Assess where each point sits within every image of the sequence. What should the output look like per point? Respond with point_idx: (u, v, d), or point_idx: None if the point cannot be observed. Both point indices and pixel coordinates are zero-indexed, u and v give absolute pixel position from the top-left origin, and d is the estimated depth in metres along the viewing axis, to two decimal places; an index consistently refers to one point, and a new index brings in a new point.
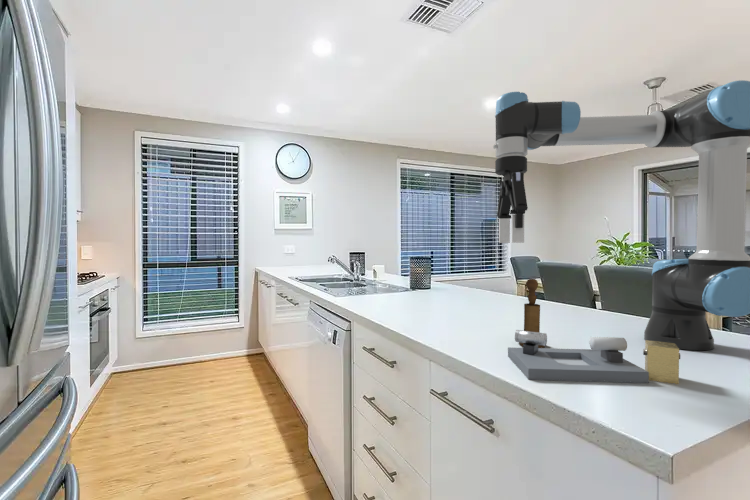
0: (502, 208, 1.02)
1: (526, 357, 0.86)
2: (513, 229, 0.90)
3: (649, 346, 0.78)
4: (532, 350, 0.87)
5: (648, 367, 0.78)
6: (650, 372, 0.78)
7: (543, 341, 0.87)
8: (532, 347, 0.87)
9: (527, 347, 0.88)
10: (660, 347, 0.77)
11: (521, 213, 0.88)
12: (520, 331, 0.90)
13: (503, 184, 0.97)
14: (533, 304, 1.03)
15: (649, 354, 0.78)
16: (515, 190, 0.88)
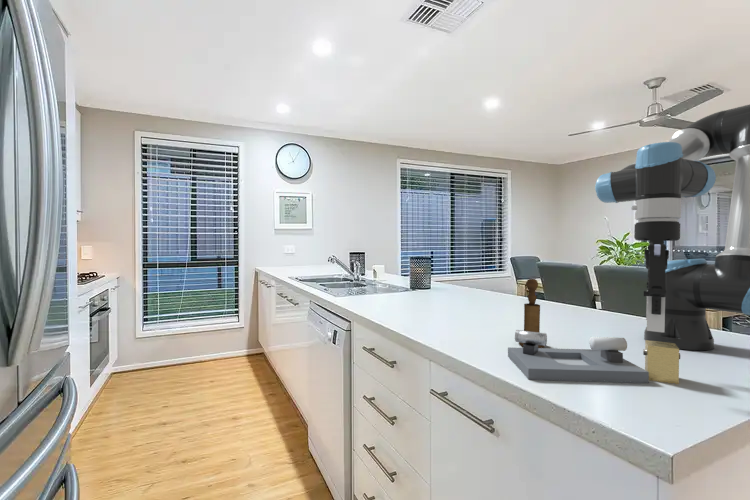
0: None
1: (526, 357, 0.86)
2: (648, 314, 0.73)
3: (649, 346, 0.78)
4: (532, 350, 0.87)
5: (648, 367, 0.78)
6: (650, 372, 0.78)
7: (543, 341, 0.87)
8: (532, 347, 0.87)
9: (527, 347, 0.88)
10: (660, 347, 0.77)
11: (658, 297, 0.71)
12: (520, 331, 0.90)
13: None
14: (533, 304, 1.03)
15: (649, 354, 0.78)
16: (651, 268, 0.72)
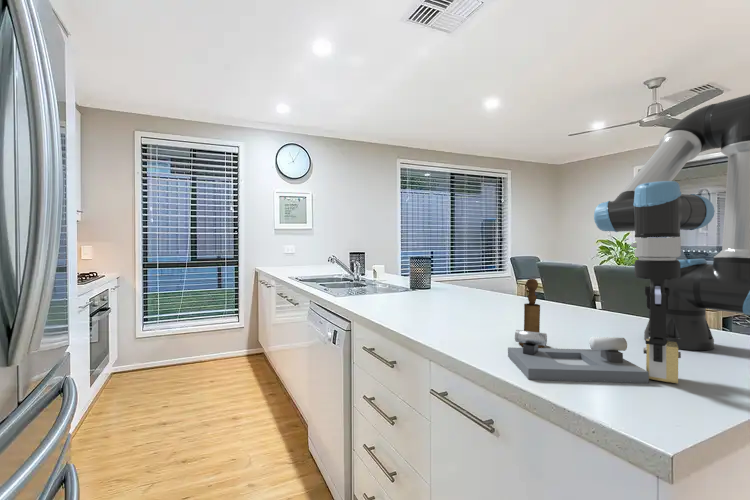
0: None
1: (526, 357, 0.86)
2: (651, 361, 0.76)
3: (648, 344, 0.77)
4: (532, 350, 0.87)
5: (647, 365, 0.77)
6: None
7: (543, 341, 0.87)
8: (532, 347, 0.87)
9: (527, 347, 0.88)
10: None
11: (660, 345, 0.75)
12: (520, 331, 0.90)
13: None
14: (533, 304, 1.03)
15: (648, 353, 0.77)
16: (652, 318, 0.74)
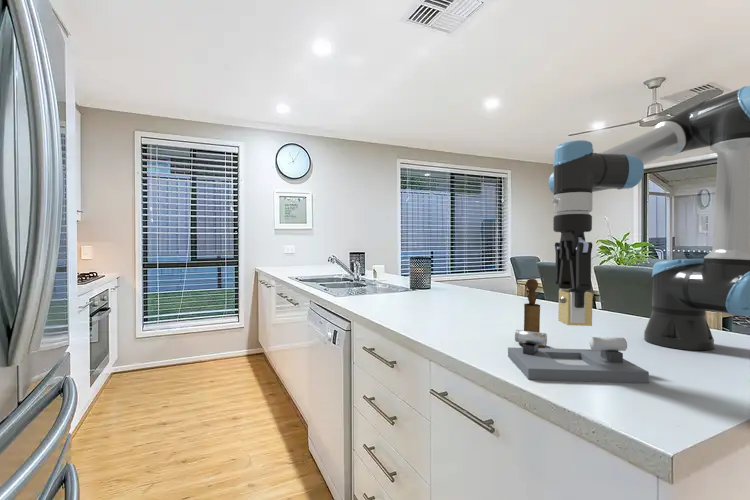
0: (563, 274, 0.87)
1: (526, 357, 0.86)
2: (572, 308, 0.81)
3: (569, 293, 0.82)
4: (532, 350, 0.87)
5: (568, 313, 0.82)
6: None
7: (543, 341, 0.87)
8: (532, 347, 0.87)
9: (527, 347, 0.88)
10: None
11: (582, 292, 0.80)
12: (520, 331, 0.90)
13: (563, 242, 0.85)
14: (533, 304, 1.03)
15: (569, 301, 0.82)
16: (580, 266, 0.78)
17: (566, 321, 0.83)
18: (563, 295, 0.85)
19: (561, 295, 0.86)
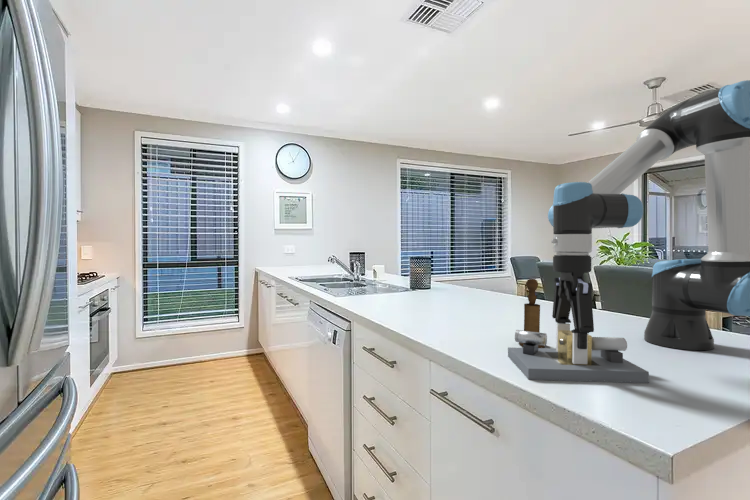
0: (560, 310, 0.88)
1: (526, 357, 0.86)
2: (575, 349, 0.80)
3: (568, 336, 0.82)
4: (532, 350, 0.87)
5: (567, 355, 0.82)
6: (569, 360, 0.82)
7: (543, 341, 0.87)
8: (532, 347, 0.87)
9: (527, 347, 0.88)
10: None
11: (585, 333, 0.79)
12: (520, 331, 0.90)
13: (562, 282, 0.85)
14: (533, 304, 1.03)
15: (568, 343, 0.82)
16: (581, 307, 0.78)
17: (566, 363, 0.83)
18: (562, 337, 0.85)
19: (560, 336, 0.86)
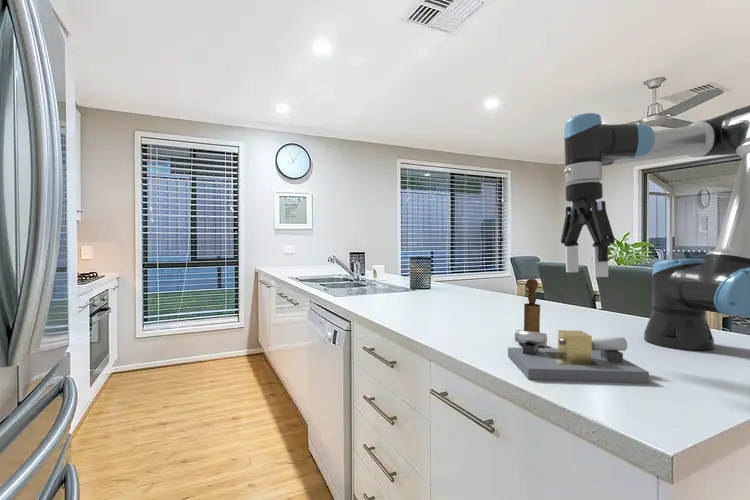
0: (570, 236, 0.95)
1: (526, 357, 0.86)
2: (596, 263, 0.83)
3: (568, 336, 0.82)
4: (532, 350, 0.87)
5: (567, 355, 0.82)
6: (569, 360, 0.82)
7: (543, 341, 0.87)
8: (532, 347, 0.87)
9: (527, 347, 0.88)
10: (577, 336, 0.82)
11: (606, 246, 0.81)
12: (520, 331, 0.90)
13: (575, 211, 0.91)
14: (533, 304, 1.03)
15: (568, 343, 0.82)
16: (598, 221, 0.82)
17: (566, 363, 0.83)
18: (562, 337, 0.85)
19: (560, 336, 0.86)
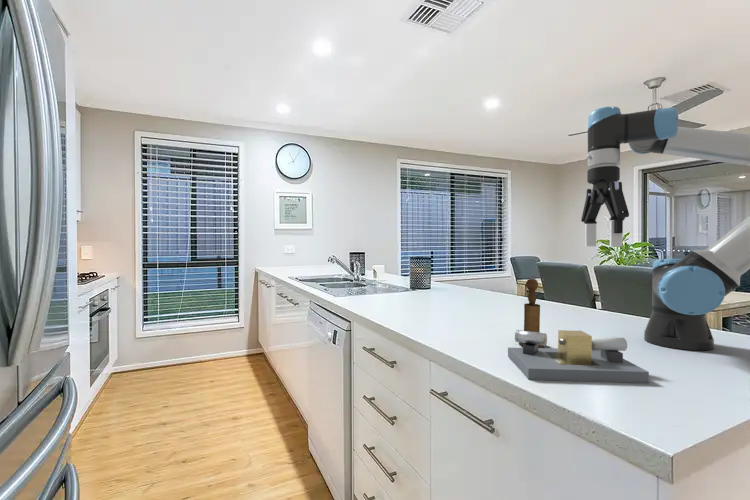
0: (590, 214, 1.09)
1: (526, 357, 0.86)
2: (612, 234, 0.97)
3: (568, 336, 0.82)
4: (532, 350, 0.87)
5: (567, 355, 0.82)
6: (569, 360, 0.82)
7: (543, 341, 0.87)
8: (532, 347, 0.87)
9: (527, 347, 0.88)
10: (577, 336, 0.82)
11: (621, 219, 0.95)
12: (520, 331, 0.90)
13: (595, 192, 1.04)
14: (533, 304, 1.03)
15: (568, 343, 0.82)
16: (615, 198, 0.96)
17: (566, 363, 0.83)
18: (562, 337, 0.85)
19: (560, 336, 0.86)
